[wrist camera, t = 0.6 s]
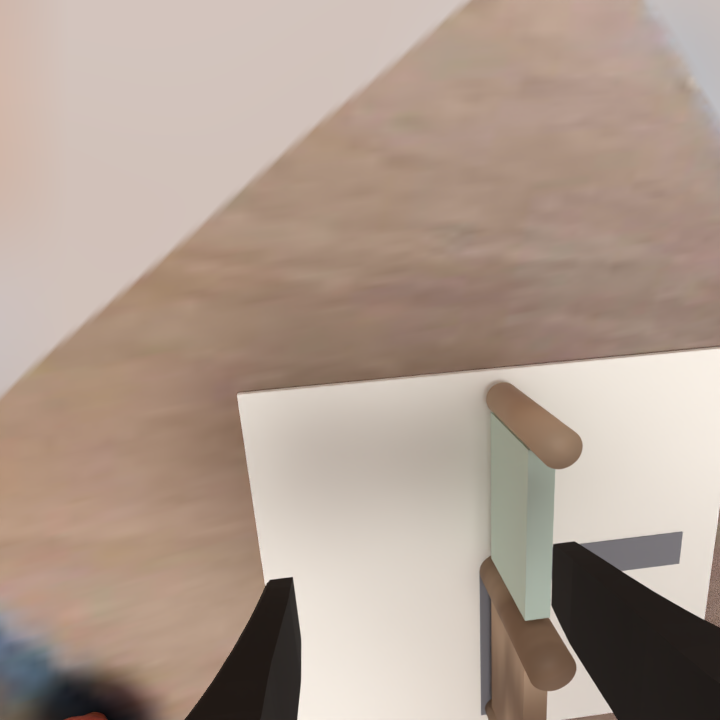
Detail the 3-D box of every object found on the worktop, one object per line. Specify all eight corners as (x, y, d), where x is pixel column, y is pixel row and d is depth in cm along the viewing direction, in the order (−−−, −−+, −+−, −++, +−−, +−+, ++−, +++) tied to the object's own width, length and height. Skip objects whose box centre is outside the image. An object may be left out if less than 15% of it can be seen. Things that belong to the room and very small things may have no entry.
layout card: (689, 695, 26) (694, 701, 26) (291, 753, 25) (290, 760, 24) (735, 345, 21) (742, 346, 21) (238, 392, 20) (236, 395, 19)
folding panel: (516, 555, 22) (572, 644, 17) (487, 558, 22) (534, 649, 17) (518, 380, 20) (583, 426, 15) (486, 384, 20) (540, 431, 15)
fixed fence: (514, 713, 25) (566, 842, 20) (481, 718, 25) (524, 849, 19) (516, 551, 22) (577, 648, 17) (479, 555, 22) (529, 655, 17)
